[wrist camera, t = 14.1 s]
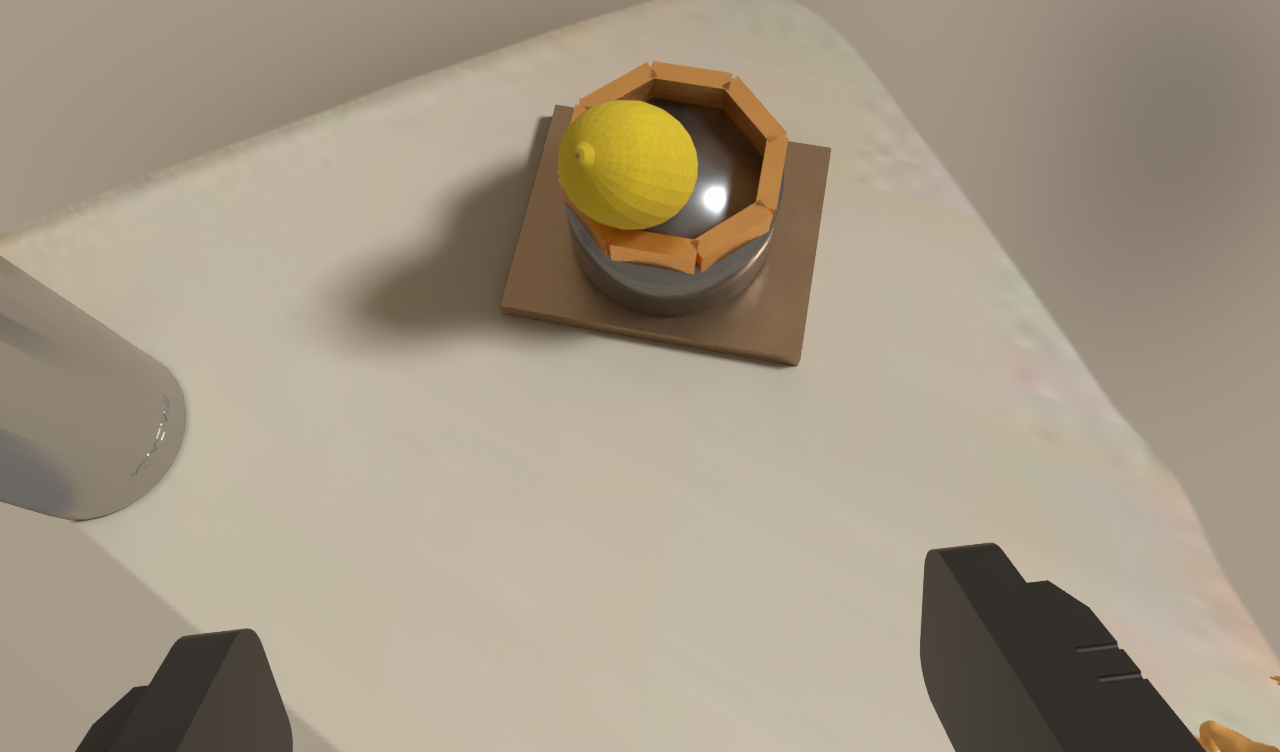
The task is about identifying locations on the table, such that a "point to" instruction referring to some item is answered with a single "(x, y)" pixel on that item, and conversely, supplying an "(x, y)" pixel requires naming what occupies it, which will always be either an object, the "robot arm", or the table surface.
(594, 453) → the table surface
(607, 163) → the lemon
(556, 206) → the pot on wooden stand
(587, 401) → the table surface
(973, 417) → the table surface
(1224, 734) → the figurine
